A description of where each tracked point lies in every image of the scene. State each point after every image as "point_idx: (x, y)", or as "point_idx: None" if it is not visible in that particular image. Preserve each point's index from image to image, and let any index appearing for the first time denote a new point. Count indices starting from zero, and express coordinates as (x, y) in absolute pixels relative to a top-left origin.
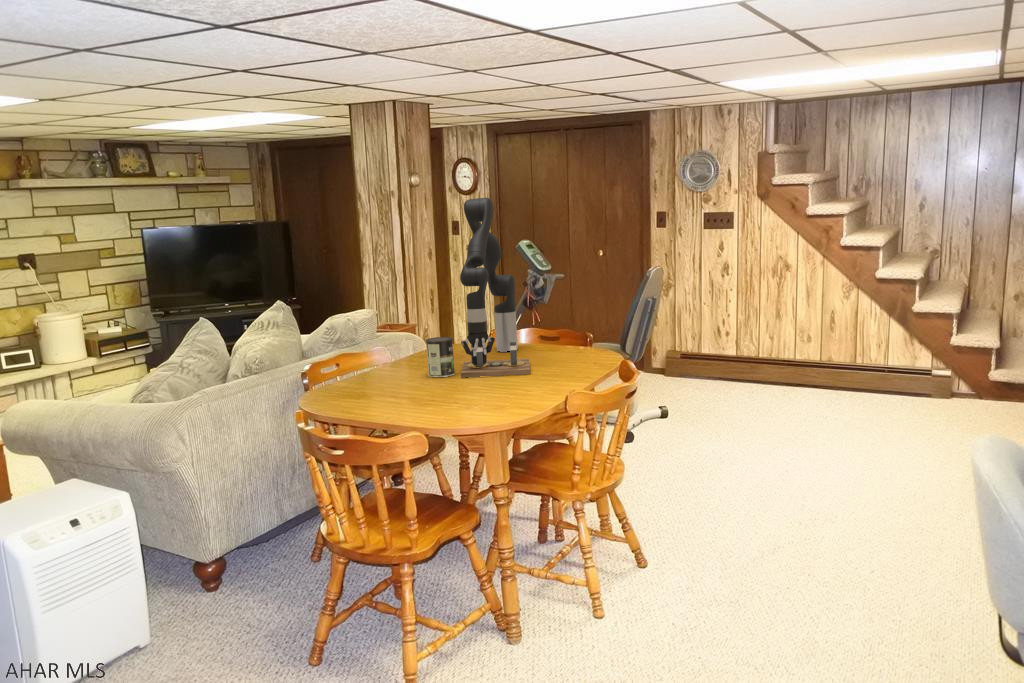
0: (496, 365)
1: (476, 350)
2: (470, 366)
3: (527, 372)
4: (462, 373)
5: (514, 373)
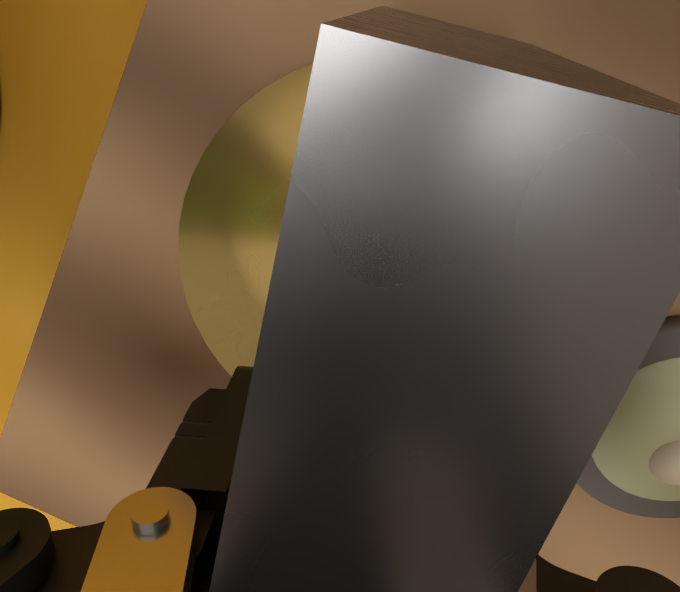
0: (612, 502)
1: None
2: (198, 324)
3: None
4: (10, 489)
5: None
